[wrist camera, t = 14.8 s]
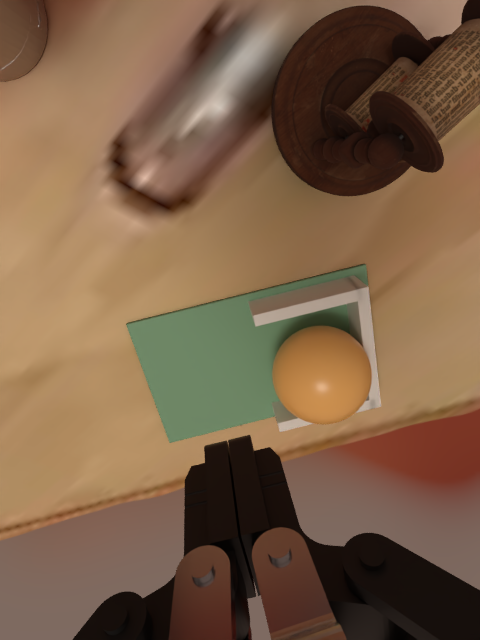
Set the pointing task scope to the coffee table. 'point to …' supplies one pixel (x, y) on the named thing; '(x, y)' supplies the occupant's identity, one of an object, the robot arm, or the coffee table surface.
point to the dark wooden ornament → (373, 97)
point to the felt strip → (222, 358)
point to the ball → (322, 374)
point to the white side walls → (316, 300)
